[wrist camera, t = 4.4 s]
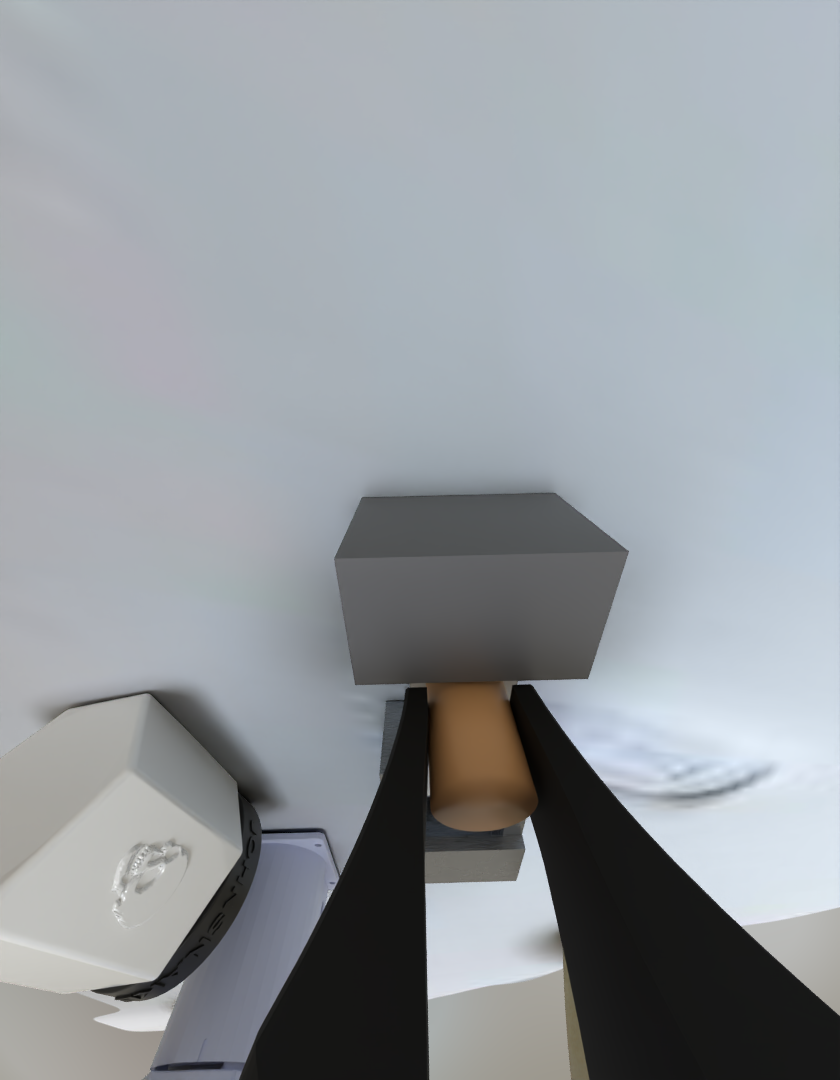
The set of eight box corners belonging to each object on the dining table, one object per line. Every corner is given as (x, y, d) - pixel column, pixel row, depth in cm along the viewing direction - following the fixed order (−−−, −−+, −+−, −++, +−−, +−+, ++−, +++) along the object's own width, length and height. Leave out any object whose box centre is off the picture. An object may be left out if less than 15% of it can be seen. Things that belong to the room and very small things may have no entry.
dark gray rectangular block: (537, 591, 14) (587, 678, 10) (372, 596, 14) (355, 685, 10) (555, 493, 12) (629, 551, 8) (361, 497, 12) (334, 558, 8)
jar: (188, 717, 14) (295, 826, 20) (115, 670, 18) (222, 772, 24) (-173, 1063, 8) (143, 1075, 13) (-163, 872, 12) (77, 945, 17)
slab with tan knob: (485, 732, 18) (521, 912, 12) (415, 734, 18) (415, 916, 12) (510, 523, 12) (608, 668, 6) (406, 525, 12) (396, 674, 6)
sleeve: (497, 802, 22) (513, 887, 18) (397, 805, 22) (393, 891, 18) (516, 698, 17) (543, 785, 13) (386, 701, 17) (378, 790, 13)
